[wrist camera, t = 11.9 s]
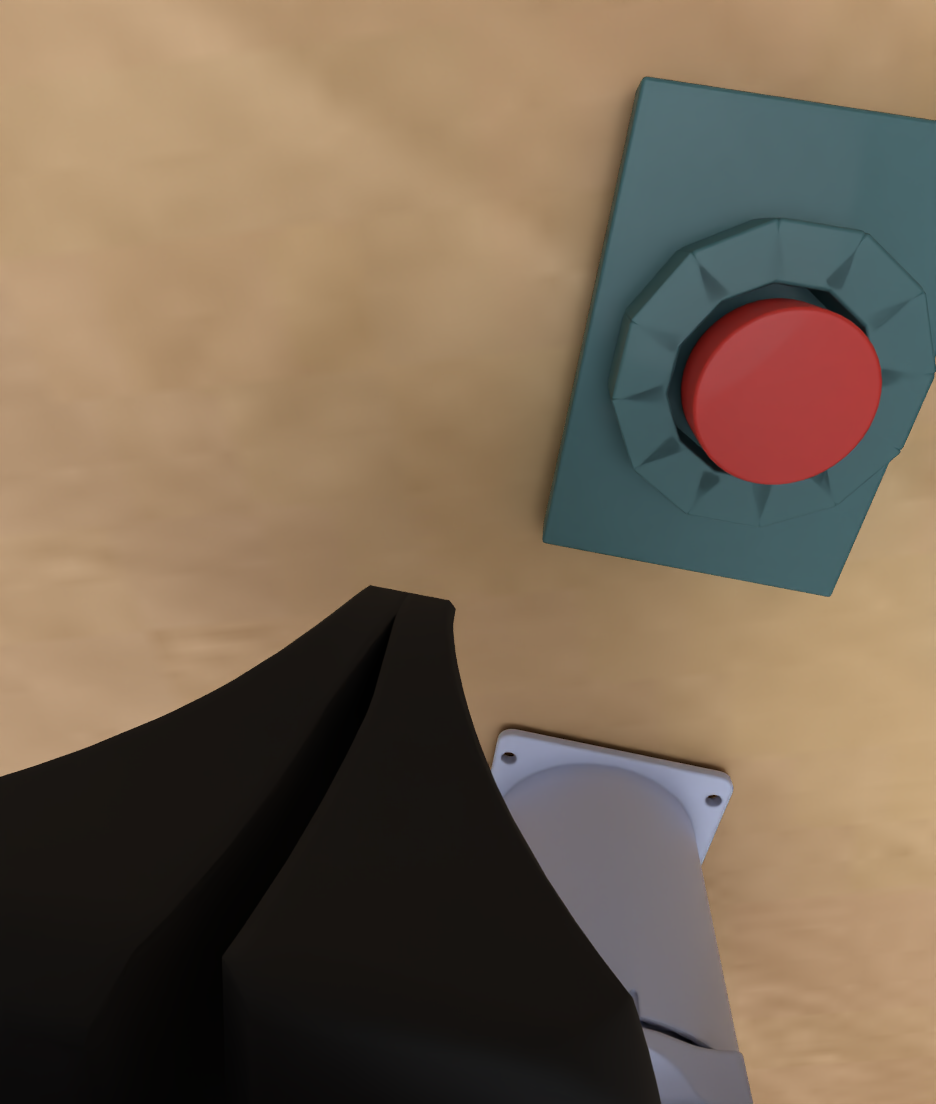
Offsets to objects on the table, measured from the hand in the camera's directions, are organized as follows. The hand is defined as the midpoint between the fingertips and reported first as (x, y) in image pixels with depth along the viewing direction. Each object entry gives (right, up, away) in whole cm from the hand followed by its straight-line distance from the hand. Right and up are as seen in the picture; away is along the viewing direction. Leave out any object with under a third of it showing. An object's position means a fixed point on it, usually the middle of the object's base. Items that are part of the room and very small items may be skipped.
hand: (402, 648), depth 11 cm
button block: (+8, +6, +7) cm, 13 cm away
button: (+8, +5, +5) cm, 10 cm away
